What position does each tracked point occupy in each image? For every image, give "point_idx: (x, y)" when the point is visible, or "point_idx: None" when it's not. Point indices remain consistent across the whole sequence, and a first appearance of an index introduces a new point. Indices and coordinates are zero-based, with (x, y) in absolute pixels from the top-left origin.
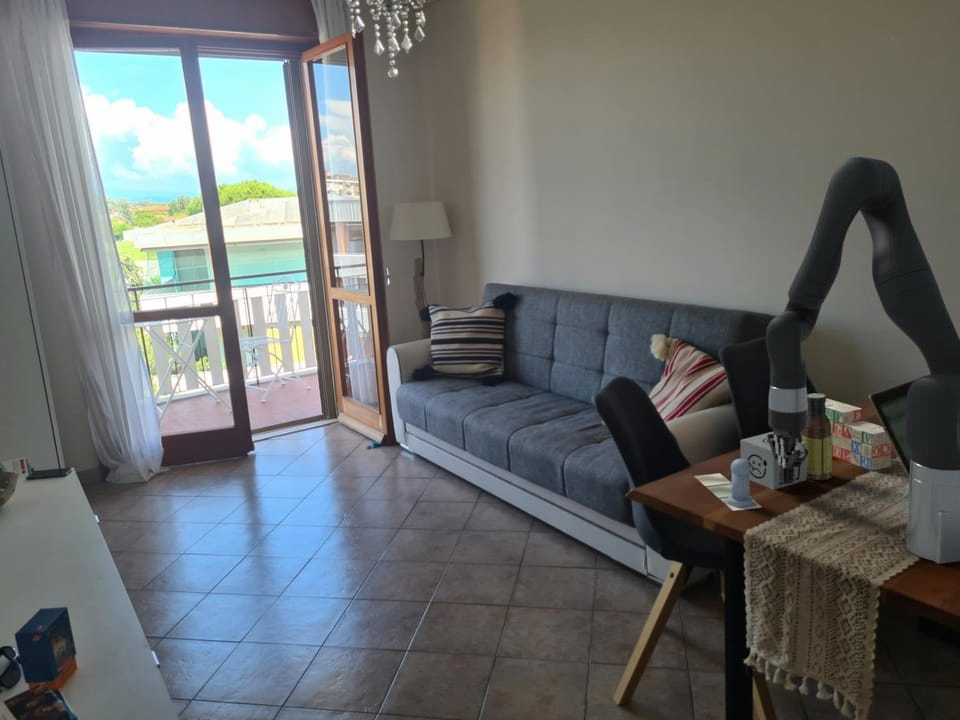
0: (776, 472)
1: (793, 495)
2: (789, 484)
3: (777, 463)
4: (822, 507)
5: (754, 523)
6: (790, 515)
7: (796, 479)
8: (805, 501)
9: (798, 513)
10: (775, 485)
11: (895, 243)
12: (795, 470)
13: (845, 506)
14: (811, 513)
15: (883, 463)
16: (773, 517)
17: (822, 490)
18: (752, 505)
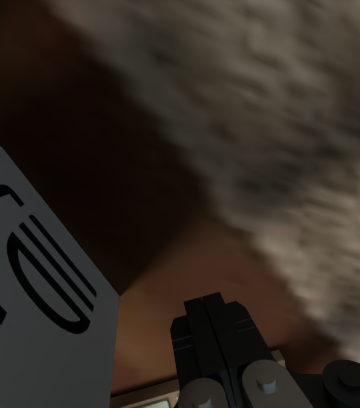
0: (99, 357)
1: (141, 227)
2: (58, 234)
3: (85, 405)
4: (274, 148)
5: None
6: (319, 279)
7: (15, 198)
8: (208, 197)
9: (309, 250)
10: (111, 311)
11: None
12: (1, 227)
13: (280, 42)
14: (318, 207)
15: None
16: (322, 329)
17: (80, 76)
18: None
